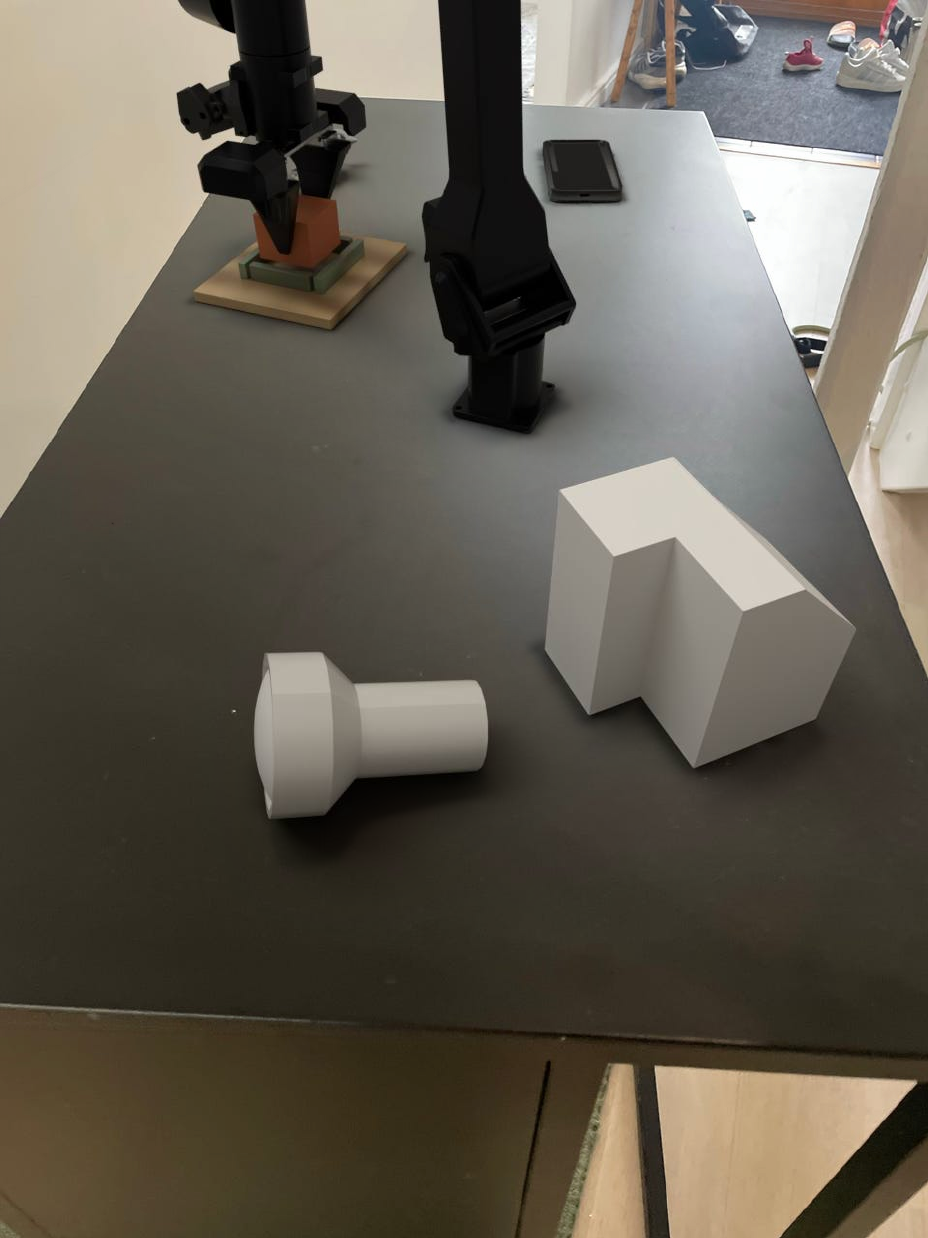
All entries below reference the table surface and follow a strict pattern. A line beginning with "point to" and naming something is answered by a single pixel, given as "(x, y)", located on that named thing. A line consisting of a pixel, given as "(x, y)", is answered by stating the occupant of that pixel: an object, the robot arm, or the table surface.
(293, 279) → the wooden board with frame
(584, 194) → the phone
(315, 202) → the orange square block
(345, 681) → the spotlight
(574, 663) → the corner bracket
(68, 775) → the table surface
